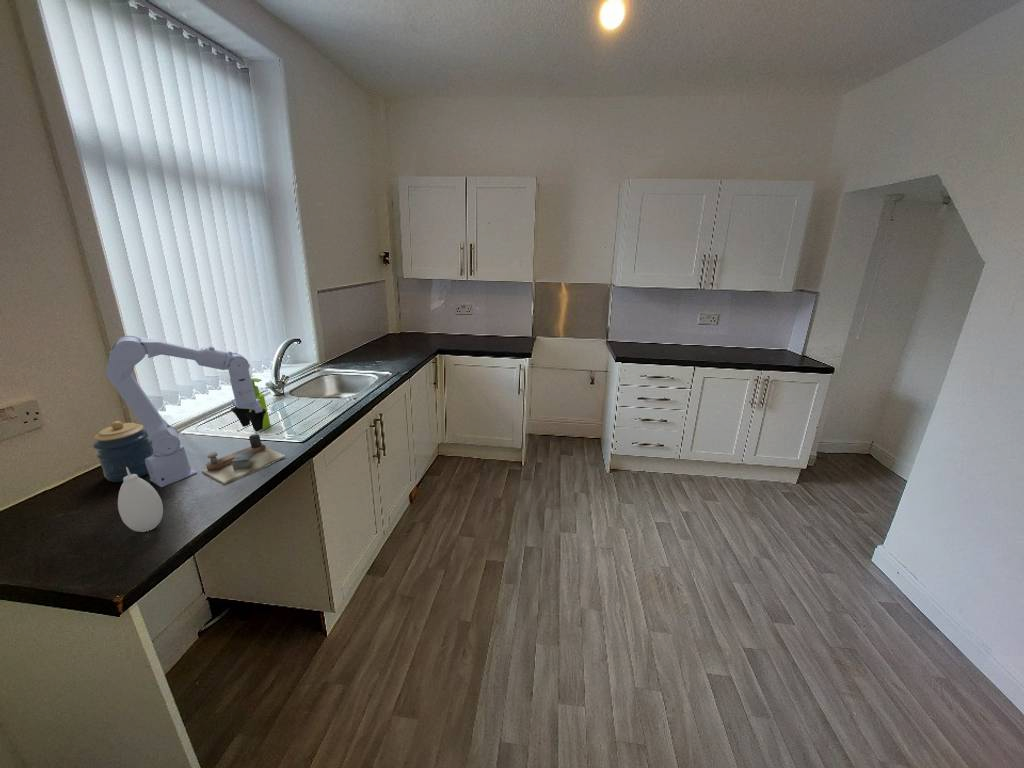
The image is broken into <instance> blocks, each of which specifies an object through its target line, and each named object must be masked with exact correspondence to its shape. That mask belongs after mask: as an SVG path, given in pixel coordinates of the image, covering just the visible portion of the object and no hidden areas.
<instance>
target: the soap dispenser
mask: <svg viewBox="0 0 1024 768" xmlns="http://www.w3.org/2000/svg"><path fill="white" fill-rule="evenodd" d="M251 380H252V384H253V389H254V393H255V397H256V399H260V402H258V403H259V405H261V406H262V409H265V410H266V413H265V415H264V418H263V427H262V430H264V429H267V428H269V427H270V426H271V421H270V417H269V412H268V407H267V404H266V403H267V402H266V399H265V396H264V393H261V392H260V389H259V386H258V385H256V384H255V383H260V382H261V381H262V379H261V378H256V377H255V378H252V377H251ZM249 412H252V411H251V410H249ZM252 428H253V427H252ZM253 430H254V428H253Z"/></svg>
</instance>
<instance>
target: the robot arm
mask: <svg viewBox="0 0 1024 768" xmlns="http://www.w3.org/2000/svg"><path fill="white" fill-rule="evenodd" d="M146 355H147V357H148V359H150V358H155V357H157V356H161V355H163V356H168V357H174V358H180V359H186V360H193V361H195V362H196V363H197V365H198V366H201V367H206V368H211V369H215V370H221V371H225V370H227V371H228V373H229V381H230V385H231V386H230V387H231V389H232V393H233V396H234V398H233V399H231V401H232V405H233V406H234V407H231V408H230V411H231V412H232V413H233V414H234V415H235V416H236V417H237V419H238V420H239V422H240V424H241V427H243V428H244V427H248V426H250V425H252V428H254V429H253V430H254V432H256V433H257V432H259V431H262V430H263V429H262V427H263V418H264V415H265V413H266V410H265V409H262V406H261V405H259V403H258V402H260V399H256V397H255V393H254V389H253V384H252V380H251V378H252V377H251V376H252V375H250V367H251V364H250V363H249V361H248V359H246V358H245V357H244V356H243V355H242V354H239V353H237V352H232V351H230V350H228V351H222V350H219V349H215V347H214V346H208V347H201V348H199V349H194V348H191V347H186V346H183V345H178V344H174V343H170V342H167V341H163V340H158V339H154V338H148V337H138V336H135V335H123V336H121V337H119V338H118V339H117V340H116V341H115V342H114V344H113V345H112V347H111V348H110V352H109V355H108V360H107V366H106V370H105V375H106V378H107V379H108V380H109V382H110V383H111V384H112V386H113V387H114V388H115V390H116V391H117V393H118V394H119V395H120V396H121V398H122V399H123V401H124V402H125V403H126V405H127V406H128V407H129V409H130V410H131V412H132V413H133V414H134V416H135V417H136V418H137V420H138V421H139V422H140V424H141V425H143V426H144V428H143V429H144V430H146V431H147V434H148V437H149V439H150V440H152V448H153V450H154V451H153V455H152V456H150V457H148V458H146V459H145V464H146V467H147V470H148V473H149V474H148V476H149V477H150V479H149V480H150V481H151V482H152V483H153V484H155V485H156V486H158V487H160V488H164V487H166V486H169V485H171V484H173V483H174V484H175V483H176V482H178V481H181V480H183V479H187V478H188V477H191V476H193V475H196V474H197V473H198V472H197V471H196V470H195V469H193V468H191V465H190V462H189V459H188V456H187V452H186V448H185V445H184V444H182V443H181V440H180V438H179V431H178V430H177V429H176V428H175V427H173V426H171V425H170V424H168V422H167V420H166V419H164V418H163V417H162V414H160V412H159V411H158V410H157V408H156V407H155V405H154V404H153V403H152V401H151V400H150V399H149V397H148V396H147V394H146V392H145V391H144V390H143V388H142V387H141V386H140V384H139V383H138V381H137V380H136V379H135V376H133V374H132V372H133V370H134V368H135V366H136V365H138V364H139V363H140V362H142V360H143V359H144V358H145V356H146ZM249 410H251V411H252V412H249Z"/></svg>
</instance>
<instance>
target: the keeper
mask: <svg viewBox="0 0 1024 768" xmlns="http://www.w3.org/2000/svg"><path fill="white" fill-rule="evenodd" d="M237 452H238V451H237ZM253 453H254V450H249V451H242V452H238V453H237V454H236V456H235V457H234V459H233V460H232V461H231V462H232V466H233V469H234V470H240V469H247V468H250V467H251V466H252V464H251V460H250V458H251V456H252V455H253Z"/></svg>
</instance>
